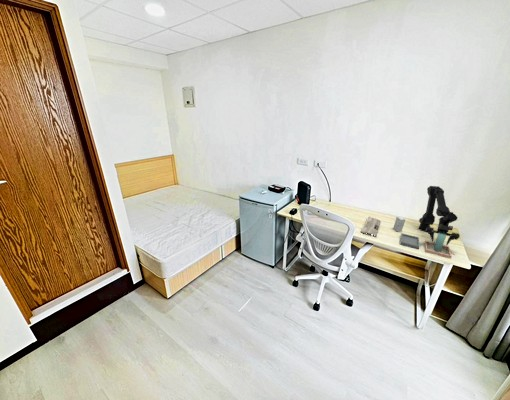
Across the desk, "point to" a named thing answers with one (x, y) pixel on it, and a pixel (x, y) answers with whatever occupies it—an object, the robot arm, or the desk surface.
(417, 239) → the tray
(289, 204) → the desk surface
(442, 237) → the canister
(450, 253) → the pink square frame
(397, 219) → the skincare box
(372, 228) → the newspaper
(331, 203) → the desk surface
